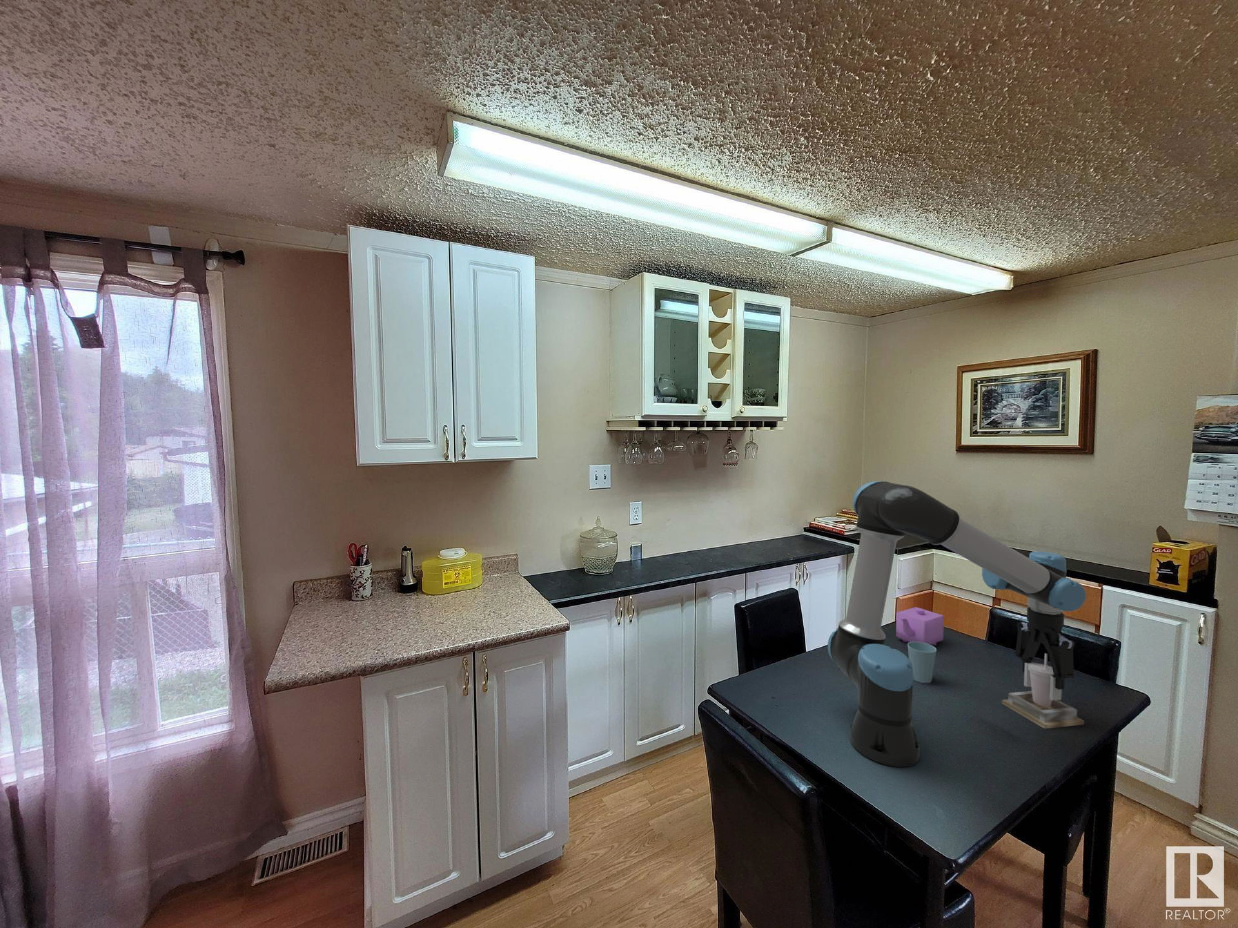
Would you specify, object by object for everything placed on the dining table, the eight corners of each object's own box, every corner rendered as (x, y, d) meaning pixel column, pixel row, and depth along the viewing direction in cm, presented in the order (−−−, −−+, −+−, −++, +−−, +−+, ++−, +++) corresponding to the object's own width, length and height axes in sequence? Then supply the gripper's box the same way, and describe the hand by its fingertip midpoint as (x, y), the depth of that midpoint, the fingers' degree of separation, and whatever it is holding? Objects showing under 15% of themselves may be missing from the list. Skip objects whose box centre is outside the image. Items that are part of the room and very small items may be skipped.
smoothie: (1046, 710, 127) (1048, 659, 127) (1020, 698, 134) (1022, 649, 133) (1063, 706, 129) (1065, 656, 128) (1037, 694, 135) (1039, 646, 135)
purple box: (919, 632, 186) (920, 601, 185) (947, 642, 177) (948, 609, 176) (886, 643, 177) (887, 610, 176) (913, 654, 168) (914, 619, 167)
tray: (1044, 728, 125) (1045, 715, 125) (1001, 703, 137) (1002, 691, 137) (1083, 724, 127) (1084, 711, 126) (1038, 699, 138) (1038, 687, 138)
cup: (941, 681, 149) (942, 649, 148) (925, 687, 146) (926, 654, 145) (917, 671, 156) (918, 639, 155) (901, 676, 153) (902, 644, 152)
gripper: (1097, 622, 121) (1093, 710, 122) (1022, 597, 140) (1019, 673, 141) (1071, 624, 120) (1067, 713, 121) (1000, 598, 139) (997, 675, 140)
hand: (1042, 692), depth 131 cm, fingers closed on smoothie, 6 cm apart
